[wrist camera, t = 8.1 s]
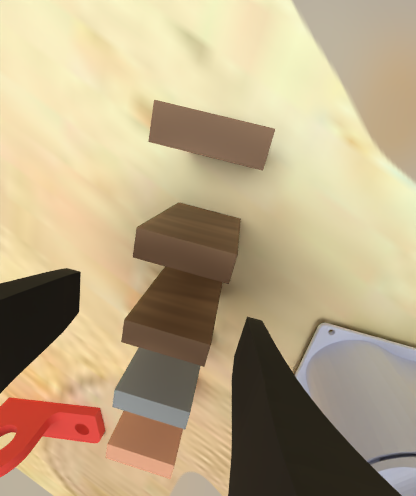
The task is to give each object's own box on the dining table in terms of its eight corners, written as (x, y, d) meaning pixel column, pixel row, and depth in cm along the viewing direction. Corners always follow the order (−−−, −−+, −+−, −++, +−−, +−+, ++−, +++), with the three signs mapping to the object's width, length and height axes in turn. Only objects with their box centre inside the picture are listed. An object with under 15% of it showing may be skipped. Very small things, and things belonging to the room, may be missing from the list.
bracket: (20, 423, 32) (-48, 502, 24) (10, 396, 30) (-66, 472, 23) (106, 434, 30) (61, 523, 23) (100, 406, 29) (50, 492, 21)
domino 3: (148, 360, 25) (107, 443, 18) (195, 374, 25) (174, 465, 17) (146, 371, 26) (105, 457, 18) (192, 385, 25) (170, 478, 18)
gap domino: (156, 316, 23) (114, 389, 16) (208, 331, 23) (190, 412, 15) (154, 330, 24) (112, 406, 16) (204, 344, 23) (185, 429, 16)
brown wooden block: (193, 126, 17) (154, 99, 10) (262, 143, 17) (275, 129, 10) (188, 150, 18) (148, 141, 11) (255, 167, 18) (262, 170, 10)
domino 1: (178, 202, 19) (136, 227, 12) (240, 218, 19) (237, 254, 12) (175, 221, 20) (132, 257, 12) (234, 237, 20) (228, 283, 12)
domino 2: (166, 264, 21) (124, 319, 14) (222, 280, 21) (210, 345, 14) (163, 280, 22) (121, 342, 14) (218, 296, 22) (203, 366, 14)
